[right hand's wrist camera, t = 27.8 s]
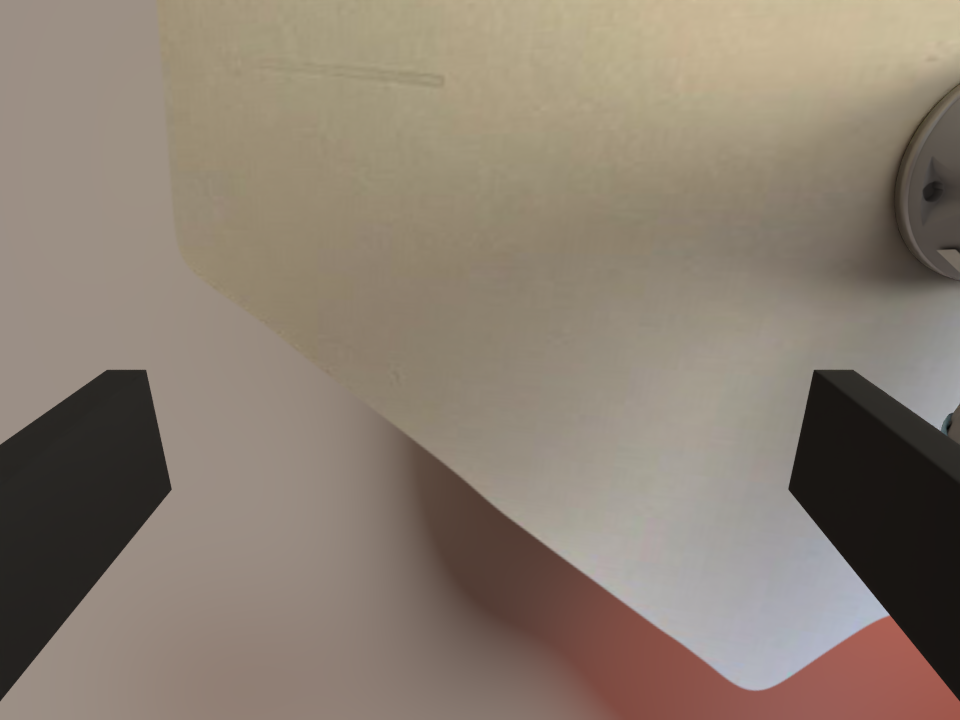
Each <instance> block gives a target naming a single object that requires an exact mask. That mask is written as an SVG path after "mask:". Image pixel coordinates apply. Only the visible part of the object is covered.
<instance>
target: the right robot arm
mask: <svg viewBox="0 0 960 720" xmlns="http://www.w3.org/2000/svg"><path fill="white" fill-rule="evenodd" d="M895 214H896V220H897V224H898V228H899V231H900V233H901V236H902V238H903V240H904V242H905V244H906V246H907V247H908V249H909V250H910V251H911V253H912V254H913V255H914V256H915V257H916V258H917V259H918V260H919V261H920V262H921V263H923V264H924V265H925V266H927V267H928V268H930V269H931V270H933V271H935V272H937V273H939V274H942V275H944V276H947V277H950V278H953V279H956V280H959V281H960V84H959V85H958V86H957V87H955V88H954V89H953V90H952V91H951V92H949V93H948V94H947V95H946V96H945V97H944V98H943V99H942V100H941V101H940V102H939V103H938V104H937V105H936V106H935V107H934V108H933V109H932V111H931V112H930V113H929V114H928V115H927V117H926V118H925V119H924V121H923V122H922V123H921V125H920V126H919V128H918V129H917V131H916V132H915V134H914V136H913V138H912V139H911V141H910V143H909V145H908V147H907V149H906V152H905V154H904V156H903V159H902V162H901V165H900V168H899V172H898V176H897V181H896V187H895ZM788 490H789V491H790V492H791V493H792V495H793V496H794V497H795V498H796V499H797V501H798V502H799V503H800V504H801V506H802V507H803V508H804V509H805V511H806V512H807V513H808V514H809V516H810V517H811V518H812V519H813V520H814V522H815V523H816V524H817V525H818V527H819V528H820V529H821V530H822V532H823V533H824V534H825V535H826V537H827V538H828V539H829V540H830V541H831V543H832V544H833V545H834V546H835V548H836V549H837V550H838V551H839V553H840V554H841V555H842V556H843V558H844V559H845V560H846V561H847V562H848V564H849V565H850V566H851V567H852V569H853V570H854V571H855V572H856V574H857V575H858V576H859V577H860V579H861V580H862V581H863V582H864V583H865V585H866V586H867V587H868V588H869V590H870V591H871V592H872V593H873V595H874V596H875V597H876V598H877V600H878V601H879V602H880V603H881V604H882V606H883V607H884V608H885V609H886V611H887V612H888V613H889V614H890V616H891V617H892V618H893V619H894V621H895V622H896V623H897V624H898V625H899V627H900V628H901V629H902V630H903V632H904V633H905V634H906V635H907V637H908V638H909V639H910V640H911V642H912V643H913V644H914V645H915V646H916V648H917V649H918V650H919V651H920V653H921V654H922V655H923V656H924V658H925V659H926V660H927V661H928V663H929V664H930V665H931V666H932V667H933V669H934V670H935V671H936V672H937V674H938V675H939V676H940V677H941V679H942V680H943V681H944V682H945V684H946V685H947V686H948V687H949V688H950V690H951V691H952V692H953V693H954V695H955V696H956V697H957V698H958V700H959V701H960V404H959V406H958V407H957V409H956V410H955V412H954V413H951V414H949V415H948V416H947V418H946V419H945V420H944V422H943V425H942V427H941V431H939V430H938V429H937V428H935V427H934V426H932V425H931V424H929V423H928V422H927V421H925V420H924V419H922V418H921V417H919V416H918V415H917V414H915V413H914V412H912V411H911V410H909V409H908V408H907V407H905V406H904V405H902V404H901V403H899V402H898V401H897V400H895V399H894V398H892V397H891V396H889V395H888V394H887V393H885V392H884V391H882V390H881V389H879V388H878V387H877V386H875V385H874V384H872V383H871V382H869V381H868V380H867V379H865V378H864V377H862V376H861V375H859V374H858V373H857V372H855V371H854V370H814V372H813V377H812V381H811V386H810V391H809V395H808V400H807V405H806V409H805V414H804V419H803V423H802V428H801V433H800V437H799V442H798V447H797V451H796V456H795V461H794V465H793V470H792V475H791V479H790V484H789V489H788ZM170 491H171V484H170V479H169V475H168V470H167V465H166V461H165V456H164V451H163V447H162V442H161V438H160V433H159V428H158V423H157V419H156V414H155V410H154V405H153V400H152V395H151V391H150V386H149V381H148V377H147V372H146V370H106V371H105V372H103V373H102V374H101V375H99V376H98V377H96V378H95V379H93V380H92V381H91V382H89V383H88V384H86V385H85V386H83V387H82V388H81V389H79V390H78V391H76V392H75V393H73V394H72V395H71V396H69V397H68V398H66V399H65V400H63V401H62V402H61V403H59V404H58V405H56V406H55V407H53V408H52V409H51V410H49V411H48V412H46V413H45V414H43V415H42V416H41V417H39V418H38V419H36V420H35V421H33V422H32V423H31V424H29V425H28V426H26V427H25V428H23V429H22V430H21V431H19V432H18V433H16V434H15V435H14V436H12V437H11V438H9V439H8V440H6V441H5V442H4V443H2V444H1V445H0V701H1V700H2V698H3V697H4V696H5V695H6V693H7V692H8V691H9V690H10V688H11V687H12V686H13V685H14V684H15V682H16V681H17V680H18V679H19V677H20V676H21V675H22V674H23V672H24V671H25V670H26V669H27V667H28V666H29V665H30V664H31V662H32V661H33V660H34V659H35V658H36V656H37V655H38V654H39V653H40V651H41V650H42V649H43V648H44V646H45V645H46V644H47V643H48V642H49V640H50V639H51V638H52V637H53V635H54V634H55V633H56V632H57V630H58V629H59V628H60V627H61V625H62V624H63V623H64V622H65V621H66V619H67V618H68V617H69V616H70V614H71V613H72V612H73V611H74V609H75V608H76V607H77V606H78V604H79V603H80V602H81V601H82V599H83V598H84V597H85V596H86V595H87V593H88V592H89V591H90V590H91V588H92V587H93V586H94V585H95V583H96V582H97V581H98V580H99V579H100V577H101V576H102V575H103V574H104V572H105V571H106V570H107V569H108V567H109V566H110V565H111V564H112V562H113V561H114V560H115V559H116V558H117V556H118V555H119V554H120V553H121V551H122V550H123V549H124V548H125V546H126V545H127V544H128V543H129V541H130V540H131V539H132V538H133V537H134V535H135V534H136V533H137V532H138V530H139V529H140V528H141V527H142V525H143V524H144V523H145V522H146V520H147V519H148V518H149V517H150V515H151V514H152V513H153V512H154V511H155V509H156V508H157V507H158V506H159V504H160V503H161V502H162V501H163V499H164V498H165V497H166V496H167V495H168V493H169V492H170Z"/></svg>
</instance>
